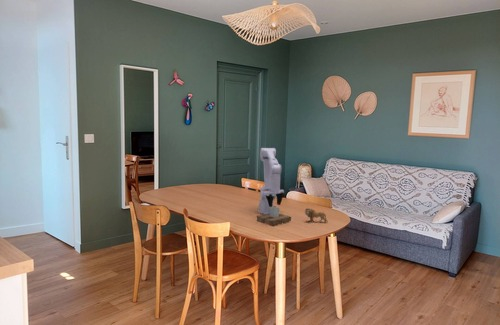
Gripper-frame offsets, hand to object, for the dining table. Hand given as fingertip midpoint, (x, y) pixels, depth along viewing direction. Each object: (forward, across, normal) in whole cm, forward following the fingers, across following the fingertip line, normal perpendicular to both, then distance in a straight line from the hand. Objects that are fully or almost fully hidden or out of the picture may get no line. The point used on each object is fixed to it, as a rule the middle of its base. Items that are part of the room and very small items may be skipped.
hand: (274, 205), depth 228 cm
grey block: (+7, 0, 0) cm, 7 cm away
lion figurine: (+10, +19, -18) cm, 28 cm away
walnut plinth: (+10, 0, 0) cm, 10 cm away
